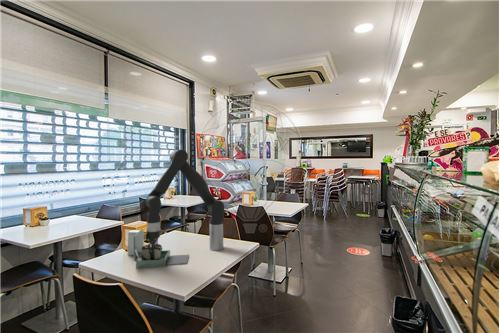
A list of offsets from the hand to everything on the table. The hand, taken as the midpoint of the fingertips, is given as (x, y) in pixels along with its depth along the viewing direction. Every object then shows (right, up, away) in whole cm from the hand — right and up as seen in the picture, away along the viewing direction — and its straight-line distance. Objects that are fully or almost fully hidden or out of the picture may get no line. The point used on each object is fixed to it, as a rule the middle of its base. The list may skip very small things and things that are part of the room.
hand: (153, 257), depth 155 cm
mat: (+14, -3, +3) cm, 14 cm away
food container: (0, -3, +1) cm, 3 cm away
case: (0, -3, 0) cm, 3 cm away
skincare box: (-17, -3, +15) cm, 23 cm away
